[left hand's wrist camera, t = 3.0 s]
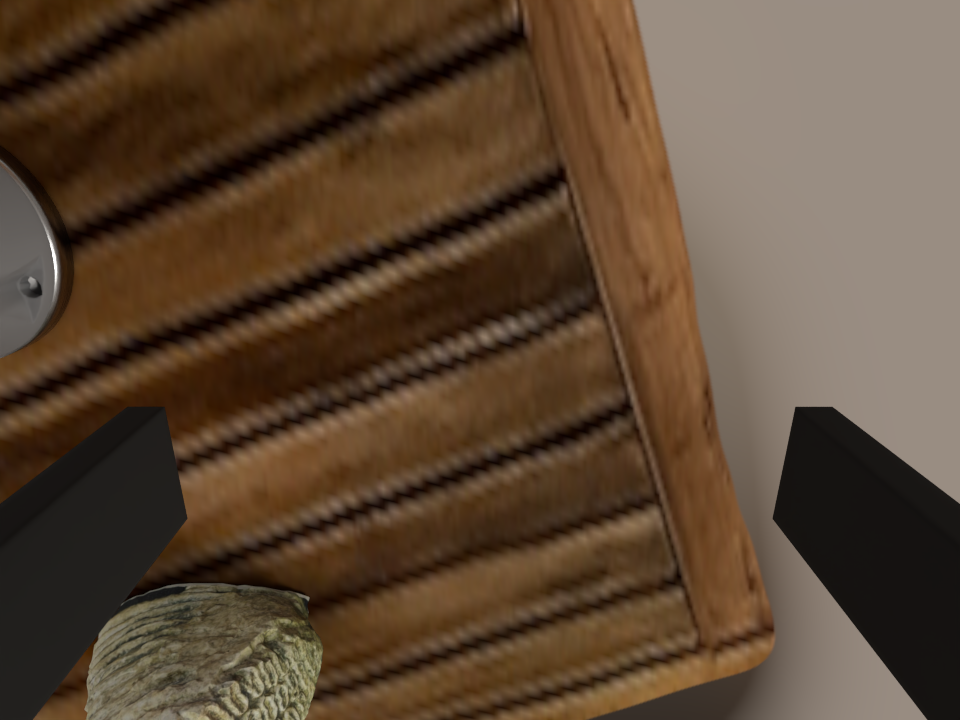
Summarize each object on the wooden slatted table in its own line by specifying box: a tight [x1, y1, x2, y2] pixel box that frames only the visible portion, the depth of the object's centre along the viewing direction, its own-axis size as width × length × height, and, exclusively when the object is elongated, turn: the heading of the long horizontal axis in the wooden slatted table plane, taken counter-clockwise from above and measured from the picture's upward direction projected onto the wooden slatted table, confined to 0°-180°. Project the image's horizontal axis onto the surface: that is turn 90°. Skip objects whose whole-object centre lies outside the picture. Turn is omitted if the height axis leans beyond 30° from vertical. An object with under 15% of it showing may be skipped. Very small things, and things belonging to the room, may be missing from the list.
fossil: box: [84, 583, 323, 720], centre depth 42 cm, size 9×18×15 cm, turn 105°
